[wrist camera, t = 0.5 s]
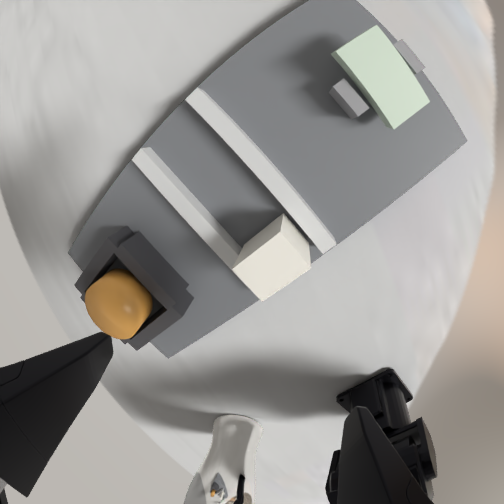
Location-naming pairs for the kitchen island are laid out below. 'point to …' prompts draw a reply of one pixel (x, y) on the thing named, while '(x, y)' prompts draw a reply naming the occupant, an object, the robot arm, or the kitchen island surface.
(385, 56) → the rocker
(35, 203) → the kitchen island surface
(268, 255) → the cream rectangular brick
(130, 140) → the kitchen island surface
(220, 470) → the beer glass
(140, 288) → the button
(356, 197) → the panel
